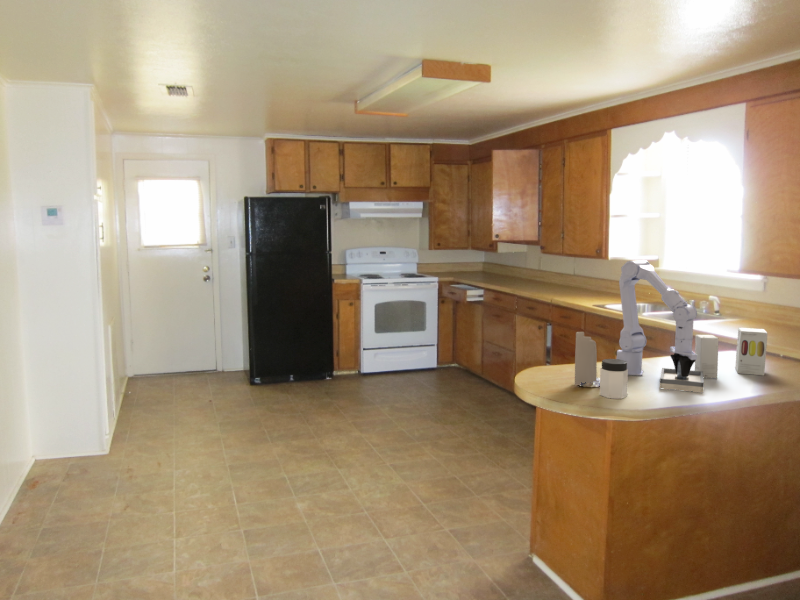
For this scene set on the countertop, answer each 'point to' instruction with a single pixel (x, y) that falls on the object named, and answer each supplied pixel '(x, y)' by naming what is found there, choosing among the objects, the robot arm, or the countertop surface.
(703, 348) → the skincare box
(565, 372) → the countertop surface
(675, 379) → the tray
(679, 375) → the peg
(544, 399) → the countertop surface
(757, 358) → the supplement box
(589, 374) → the beige stepped upright panel
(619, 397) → the jar
